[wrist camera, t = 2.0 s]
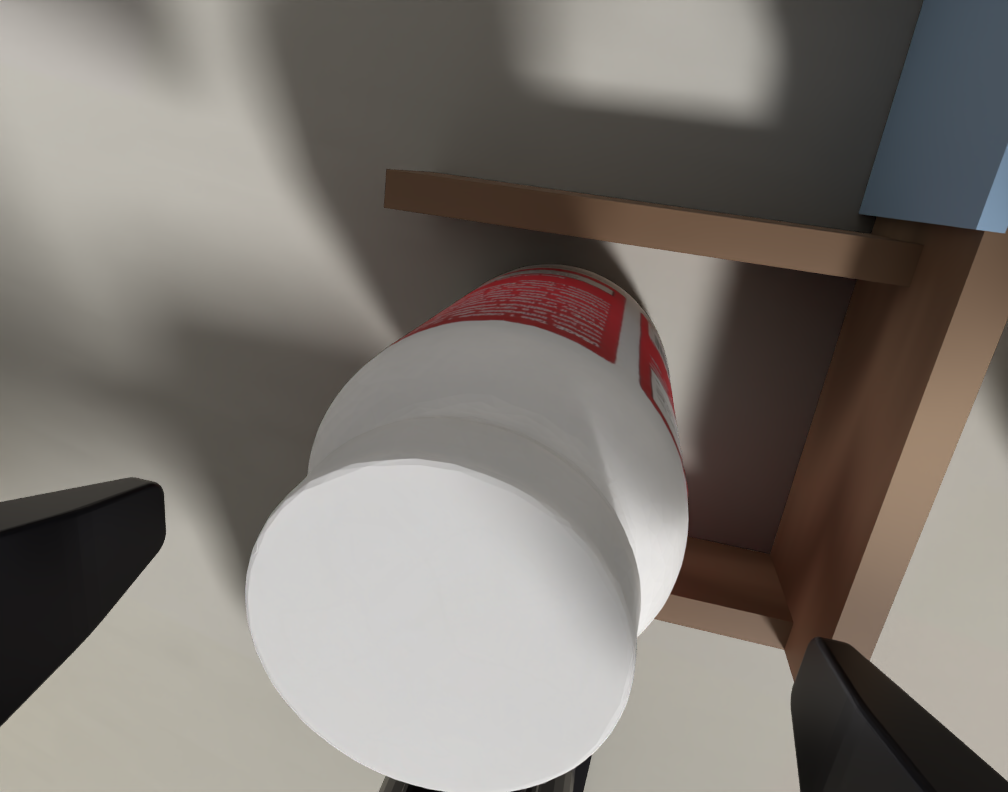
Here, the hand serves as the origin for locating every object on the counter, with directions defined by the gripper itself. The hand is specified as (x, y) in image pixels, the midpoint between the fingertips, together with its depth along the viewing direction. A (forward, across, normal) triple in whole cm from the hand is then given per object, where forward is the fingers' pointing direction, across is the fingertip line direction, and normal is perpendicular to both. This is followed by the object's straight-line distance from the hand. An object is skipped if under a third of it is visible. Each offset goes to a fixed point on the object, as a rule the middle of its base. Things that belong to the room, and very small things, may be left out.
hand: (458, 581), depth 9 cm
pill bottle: (+10, 0, 0) cm, 10 cm away
